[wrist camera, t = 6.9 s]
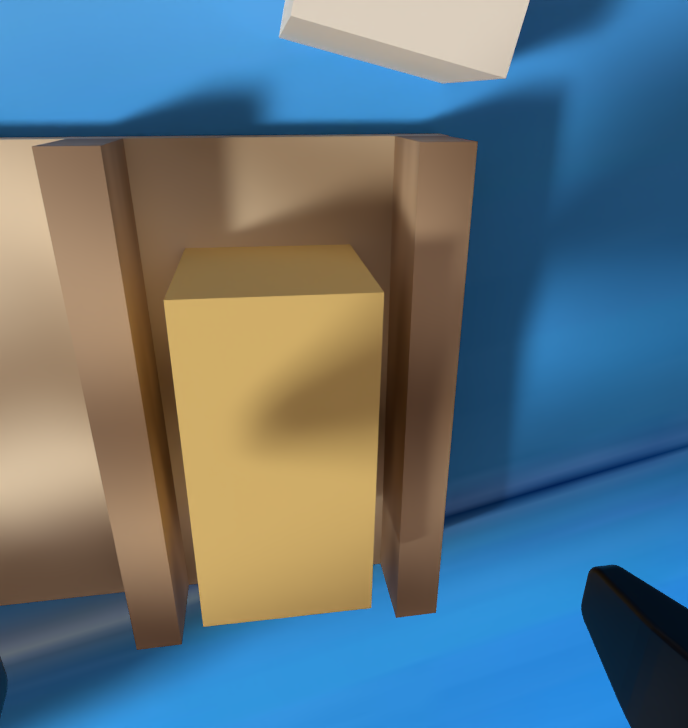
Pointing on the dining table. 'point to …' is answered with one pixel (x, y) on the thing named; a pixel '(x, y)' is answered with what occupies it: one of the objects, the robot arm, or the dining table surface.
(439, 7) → the cream bar
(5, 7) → the dining table surface
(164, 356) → the comb board
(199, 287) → the ochre bar
